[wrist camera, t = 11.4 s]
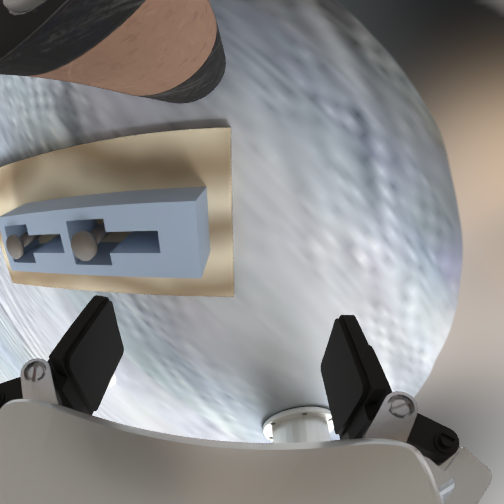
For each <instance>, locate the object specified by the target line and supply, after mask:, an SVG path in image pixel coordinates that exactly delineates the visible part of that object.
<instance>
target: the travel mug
mask: <svg viewBox="0 0 504 504" xmlns="http://www.w3.org/2000/svg"><path fill="white" fill-rule="evenodd" d="M224 70H225V54H224V50H223V46H222V42H221V38H220V34H219V30H218V26H217V22H216V19H215V15H214V13H213V10H212V8H211V5H210V2H209V0H0V74H5V75H19V76H30V77H39V78H47V79H54V80H61V81H67V82H73V83H78V84H84V85H89V86H94V87H99V88H103V89H108V90H112V91H116V92H121V93H125V94H129V95H134V96H140V97H146V98H151V99H157V100H162V101H167V102H172V103H189V102H193V101H196V100H199V99H201V98H203V97H205V96H206V95H207V94H209V93H210V92H211V91H212V90H214V88H215V87H216V86H217V85H218V84H219V82H220V80H221V79H222V77H223V74H224Z"/></svg>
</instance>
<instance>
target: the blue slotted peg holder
mask: <svg viewBox="0 0 504 504" xmlns="http://www.w3.org/2000/svg"><path fill="white" fill-rule="evenodd" d="M96 219H104V225H105V231H106V232H123V231H132V232H131V233H130V234H129V235H128V236H127V237H126V238H125V239H124V240H123V241H122V242H99V243H98V251H97V253H96V255H95V256H94V257H93V258H92V259H91V260H89V261H82V260H80V259H79V258H77V257H76V256H75V254H74V253H73V251H72V248H71V239H72V237H73V236H74V235H75V234H76V233H78V232H79V231H82V230H85V231H88V232H91V231H92V230H94V229H95V228H96V227H98V226H97V220H96ZM0 231H1V235H2V239H3V243H4V247H5V250H6V254H7V257H8V260H9V264H10V267H11V270H12V271H26V272H41V273H58V274H77V275H98V276H124V277H157V278H202V275H203V272H204V269H205V266H206V263H207V260H208V257H209V254H210V238H209V221H208V201H207V187H188V188H167V189H150V190H136V191H123V192H112V193H101V194H92V195H83V196H74V197H66V198H59V199H51V200H44V201H38V202H31V203H25V204H23V205H21V206H19V207H17V208H15V209H13V210H11V211H9V212H7V213H6V214H4V215H2V216H0ZM26 232H28V235H45V234H59V235H57V236H56V237H54V238H53V239H52V240H50V241H49V242H47V243H40V244H39V240H38V238H37V239H35V240H34V241H33V242H31V243H30V244H28V245H27V246H25V247H24V254H23V256H21V257H20V258H19V259H14V258H13V257H12V256H11V255H10V254H9V252H8V250H7V246H6V240H7V238H8V237H9V236H11V235H12V234H16V235H18V236H19V237H20V236H21V235H23V234H25V233H26Z"/></svg>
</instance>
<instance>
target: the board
mask: <svg viewBox="0 0 504 504" xmlns="http://www.w3.org/2000/svg"><path fill="white" fill-rule="evenodd" d="M188 187H207V201H208V221H209V238H210V254H209V257H208V260H207V263H206V266H205V269H204V272H203V275H202V278H157V277H124V276H98V275H77V274H58V273H41V272H26V271H12V270H11V267H10V264H9V260H8V257H7V254H6V250H5V247H4V243H3V239H2V235H1V231H0V244H1V248H2V251H3V254H4V258H5V261H6V264H7V267H8V270H9V273H10V276H11V279H12V282H13V283H17V284H26V285H35V286H44V287H54V288H65V289H76V290H88V291H102V292H117V293H133V294H153V295H178V296H216V297H234V262H233V225H232V173H231V128H230V127H229V128H204V129H188V130H176V131H165V132H156V133H147V134H139V135H132V136H125V137H119V138H113V139H107V140H101V141H96V142H91V143H86V144H81V145H77V146H72V147H68V148H64V149H59V150H55V151H52V152H48V153H44V154H40V155H37V156H33V157H30V158H27V159H23V160H20V161H17V162H14V163H11V164H8V165H5V166H2V167H0V216H2V215H4V214H6V213H7V212H9V211H11V210H13V209H15V208H17V207H19V206H21V205H23V204H25V203H31V202H38V201H44V200H51V199H59V198H66V197H74V196H83V195H92V194H101V193H112V192H123V191H136V190H150V189H167V188H188ZM96 220H97V226H98V227H96V228H95V229H94V230H92V231H91V232H88V231H85V230H82V231H79V232H78V233H76V234H75V235H74V236H73V237H72V239H71V248H72V251H73V253H74V254H75V256H76V257H77V258H79V259H80V260H82V261H89V260H91V259H92V258H93V257H94V256H95V255H96V253H97V251H98V243H99V242H122V241H123V240H124V239H125V238H126V237H127V236H128V235H129V234H130V233H131V232H132V231H123V232H106V231H105V225H104V219H96ZM57 235H59V234H45V235H28V232H26V233H25V234H23V235H21V236H20V237H19V236H18V235H16V234H12V235H11V236H9V237H8V238H7V240H6V246H7V250H8V252H9V254H10V255H11V256H12V257H13V258H14V259H19V258H20V257H21V256H23V254H24V247H25V246H27V245H28V244H30V243H31V242H33V241H34V240H35V239H37V238H38V240H39V244H40V243H47V242H49V241H50V240H52V239H53V238H54V237H56V236H57Z"/></svg>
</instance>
